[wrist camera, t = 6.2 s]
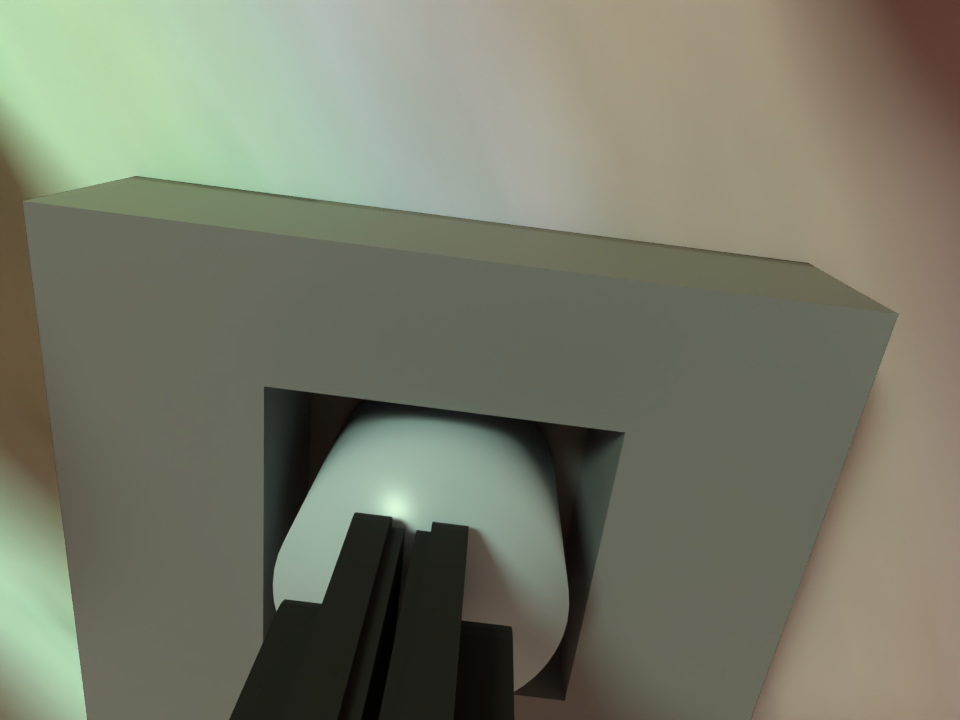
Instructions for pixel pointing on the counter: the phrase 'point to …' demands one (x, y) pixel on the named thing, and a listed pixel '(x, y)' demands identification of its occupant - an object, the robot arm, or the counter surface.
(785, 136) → the counter surface
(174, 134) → the counter surface
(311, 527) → the slate button
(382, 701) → the robot arm
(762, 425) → the panel
